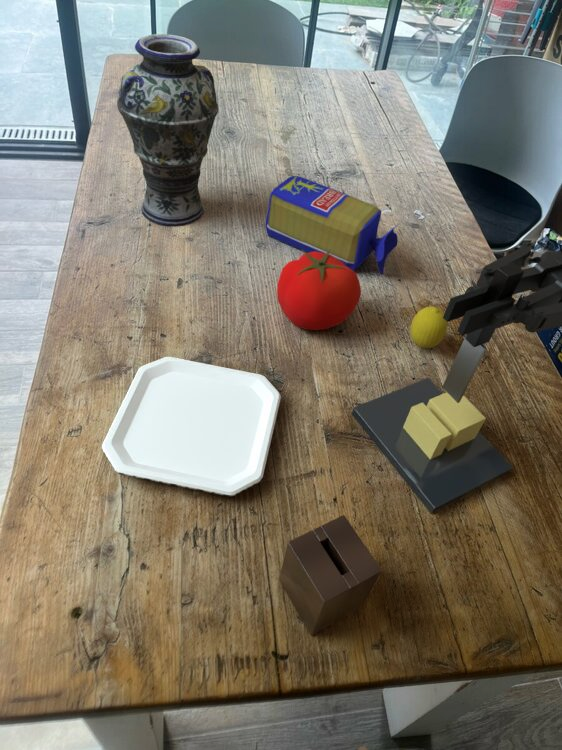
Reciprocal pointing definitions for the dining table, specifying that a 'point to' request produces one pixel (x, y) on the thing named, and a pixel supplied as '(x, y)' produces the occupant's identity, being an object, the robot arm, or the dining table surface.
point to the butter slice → (426, 430)
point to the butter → (457, 418)
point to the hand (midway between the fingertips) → (456, 316)
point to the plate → (194, 426)
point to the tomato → (317, 291)
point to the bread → (327, 223)
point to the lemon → (428, 327)
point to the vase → (169, 125)
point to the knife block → (328, 574)
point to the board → (423, 475)
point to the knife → (480, 333)
